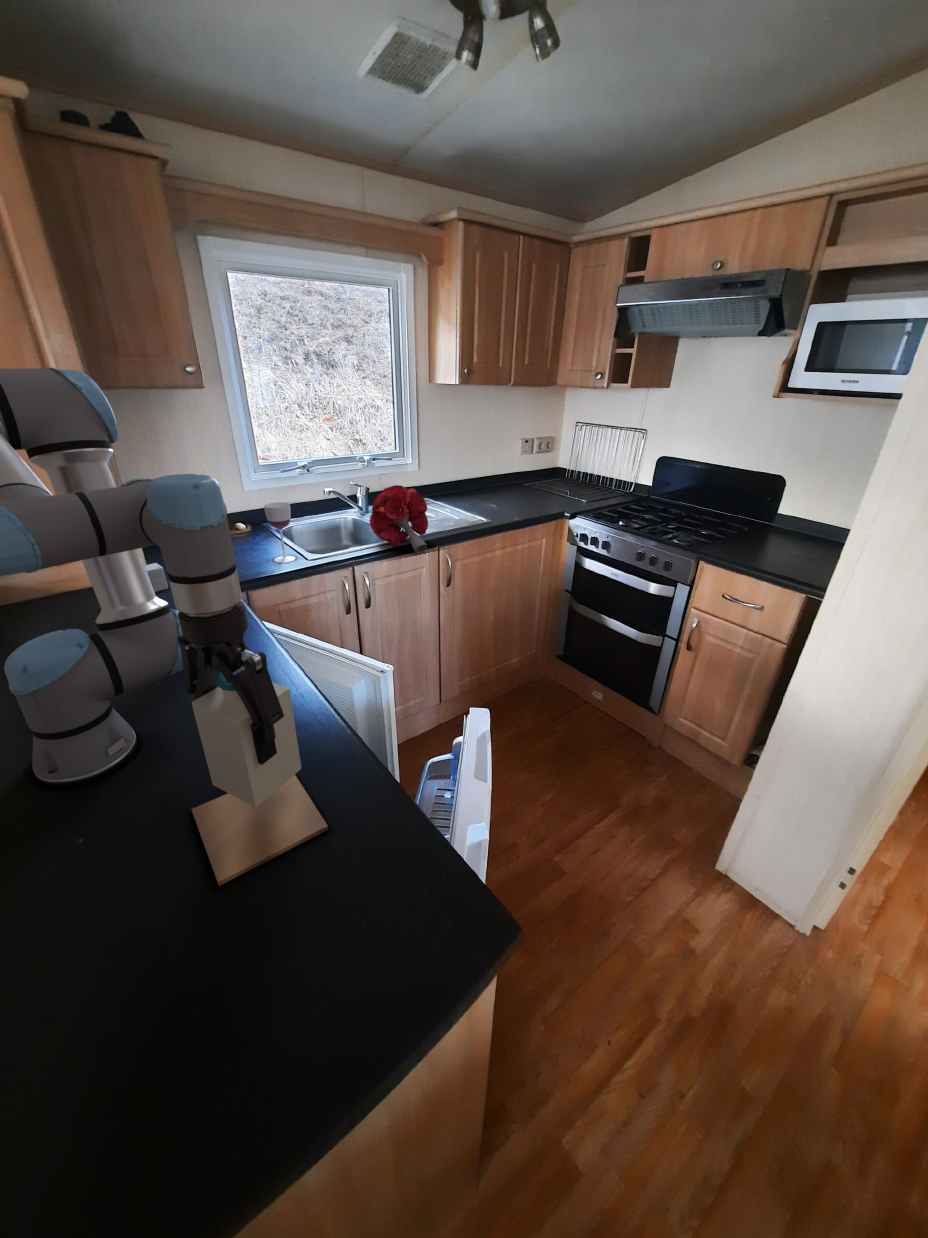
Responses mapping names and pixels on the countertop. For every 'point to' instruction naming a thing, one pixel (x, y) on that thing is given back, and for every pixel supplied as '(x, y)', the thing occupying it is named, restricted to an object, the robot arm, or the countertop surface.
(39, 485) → the robot arm
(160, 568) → the product box
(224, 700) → the drink carton
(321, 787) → the countertop surface
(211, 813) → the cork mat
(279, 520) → the wineglass
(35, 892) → the countertop surface
